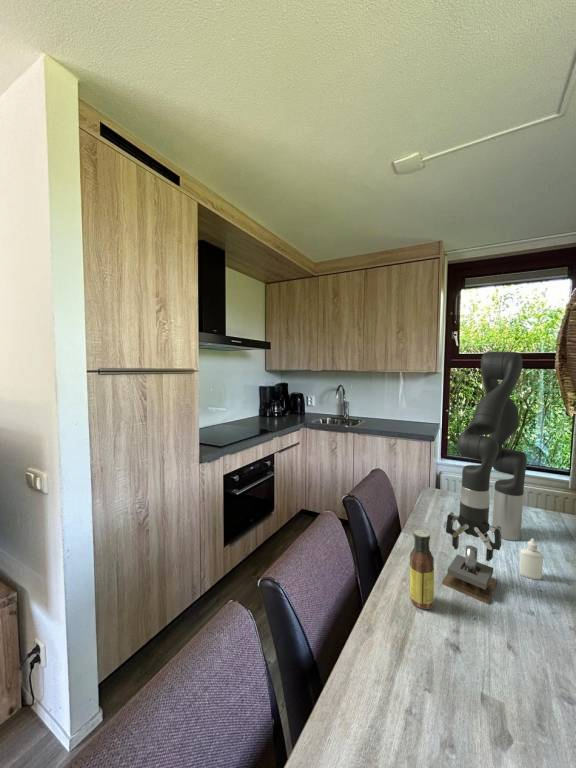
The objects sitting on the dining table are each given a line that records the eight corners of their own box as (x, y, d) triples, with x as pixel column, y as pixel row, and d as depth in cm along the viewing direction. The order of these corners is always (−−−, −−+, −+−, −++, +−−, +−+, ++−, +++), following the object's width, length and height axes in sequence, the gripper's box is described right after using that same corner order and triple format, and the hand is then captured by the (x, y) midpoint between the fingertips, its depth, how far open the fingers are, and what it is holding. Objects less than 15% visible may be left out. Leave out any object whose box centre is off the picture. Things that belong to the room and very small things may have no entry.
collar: (456, 559, 105) (457, 554, 105) (493, 572, 99) (493, 567, 99) (447, 573, 98) (447, 568, 98) (485, 589, 91) (485, 584, 91)
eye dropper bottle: (539, 583, 99) (542, 545, 98) (517, 574, 103) (519, 537, 102) (542, 577, 102) (545, 540, 101) (521, 568, 106) (523, 532, 105)
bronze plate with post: (454, 565, 107) (455, 533, 106) (496, 582, 99) (499, 547, 98) (442, 583, 98) (444, 548, 97) (488, 604, 90) (490, 566, 89)
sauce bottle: (432, 597, 93) (435, 529, 91) (434, 613, 87) (438, 541, 85) (407, 591, 95) (410, 525, 93) (408, 607, 89) (411, 536, 87)
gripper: (505, 504, 95) (501, 558, 96) (452, 491, 104) (449, 539, 106) (500, 514, 89) (496, 570, 91) (444, 498, 99) (442, 549, 100)
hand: (471, 553), depth 98 cm, fingers open, 8 cm apart
